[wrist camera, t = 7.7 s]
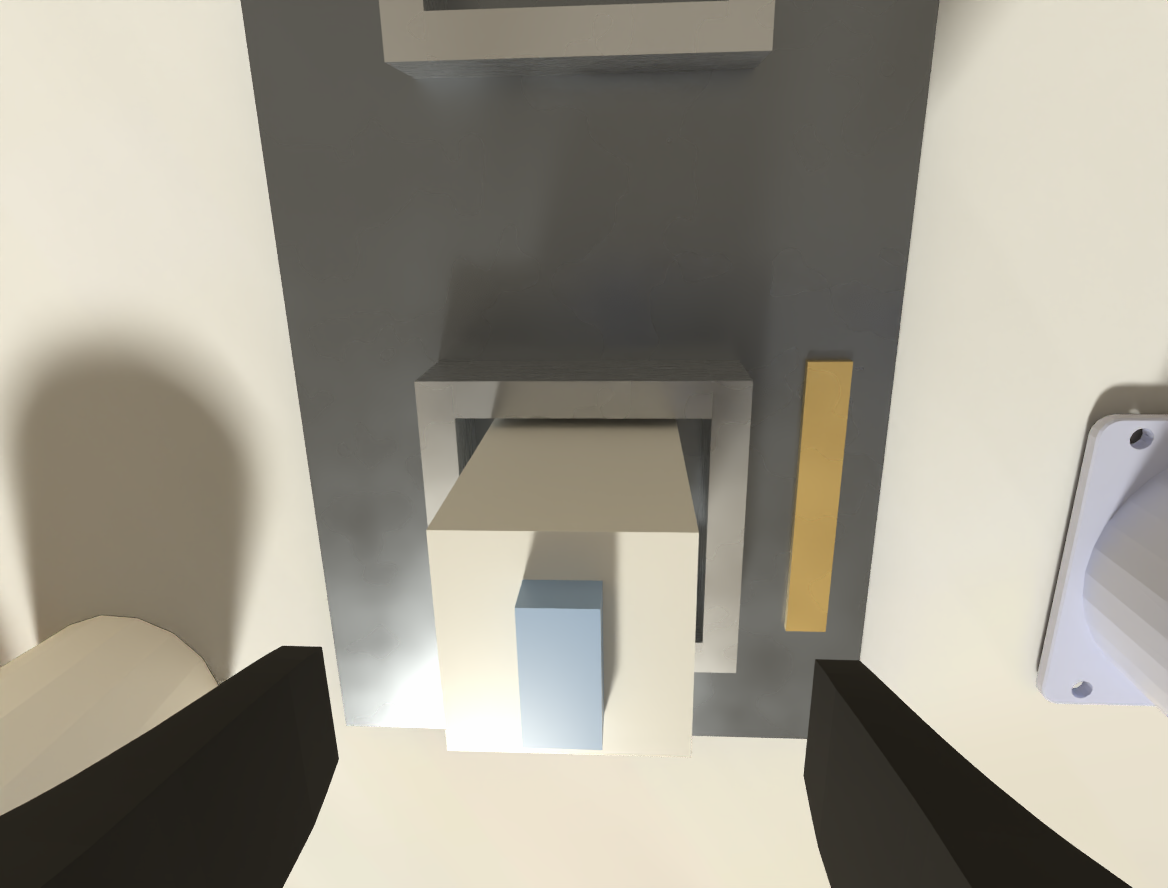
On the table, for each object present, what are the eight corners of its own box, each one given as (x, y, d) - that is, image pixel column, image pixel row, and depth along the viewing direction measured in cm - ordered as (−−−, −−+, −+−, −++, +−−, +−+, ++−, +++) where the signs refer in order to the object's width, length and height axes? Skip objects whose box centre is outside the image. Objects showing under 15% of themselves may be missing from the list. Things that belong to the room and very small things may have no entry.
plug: (672, 403, 17) (704, 558, 10) (669, 556, 18) (695, 796, 11) (503, 403, 17) (410, 555, 10) (512, 554, 19) (435, 787, 11)
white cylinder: (-14, 608, 21) (-302, 790, 15) (204, 584, 21) (4, 766, 14) (70, 793, 24) (-148, 1025, 17) (271, 778, 23) (124, 1014, 16)
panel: (983, -542, 13) (1086, -759, 10) (839, 715, 21) (873, 796, 18) (196, -480, 13) (79, -662, 11) (358, 702, 22) (317, 778, 19)
